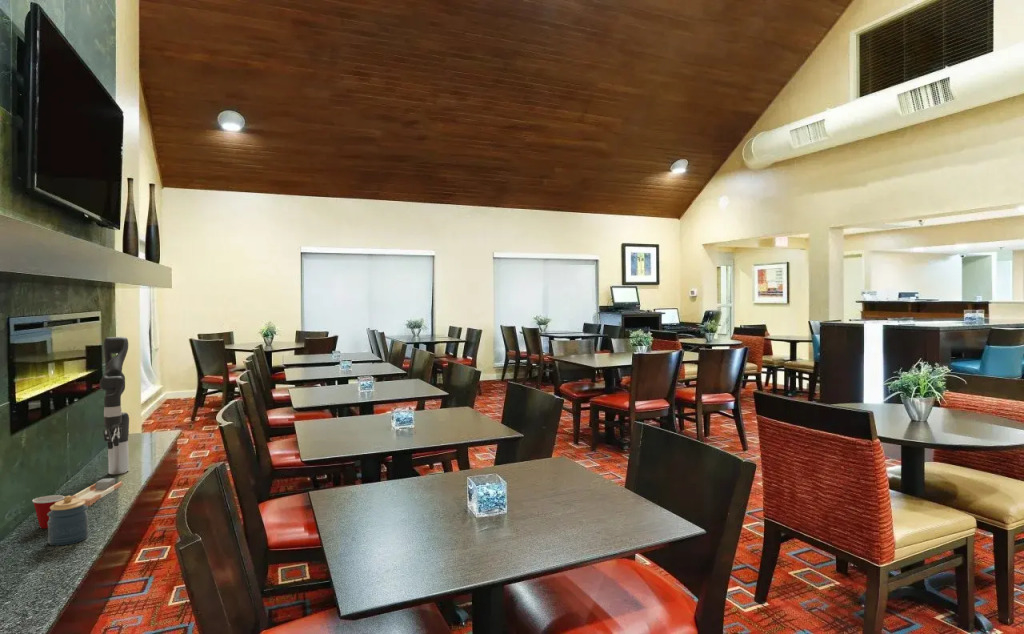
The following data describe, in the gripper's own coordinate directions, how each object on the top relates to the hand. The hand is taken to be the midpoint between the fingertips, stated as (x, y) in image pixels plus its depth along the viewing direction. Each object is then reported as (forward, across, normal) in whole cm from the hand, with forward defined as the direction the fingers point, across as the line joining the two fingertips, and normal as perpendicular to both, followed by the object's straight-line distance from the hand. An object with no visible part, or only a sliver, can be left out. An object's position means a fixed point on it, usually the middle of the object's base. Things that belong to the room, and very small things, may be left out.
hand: (113, 447), depth 302 cm
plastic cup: (+20, +57, +3) cm, 60 cm away
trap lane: (+19, +18, 0) cm, 26 cm away
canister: (+20, +74, +20) cm, 79 cm away
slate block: (+19, +8, 0) cm, 20 cm away
